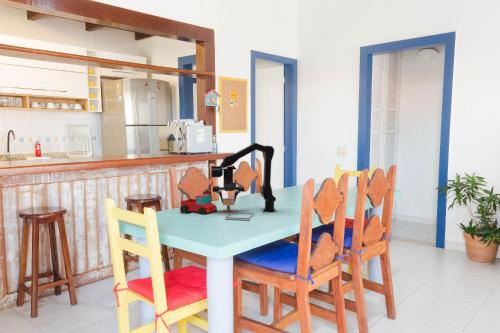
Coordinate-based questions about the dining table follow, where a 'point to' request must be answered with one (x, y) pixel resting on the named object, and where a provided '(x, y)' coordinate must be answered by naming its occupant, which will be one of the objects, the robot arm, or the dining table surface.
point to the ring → (228, 201)
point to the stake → (228, 210)
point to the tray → (237, 217)
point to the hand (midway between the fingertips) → (228, 203)
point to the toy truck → (198, 205)
